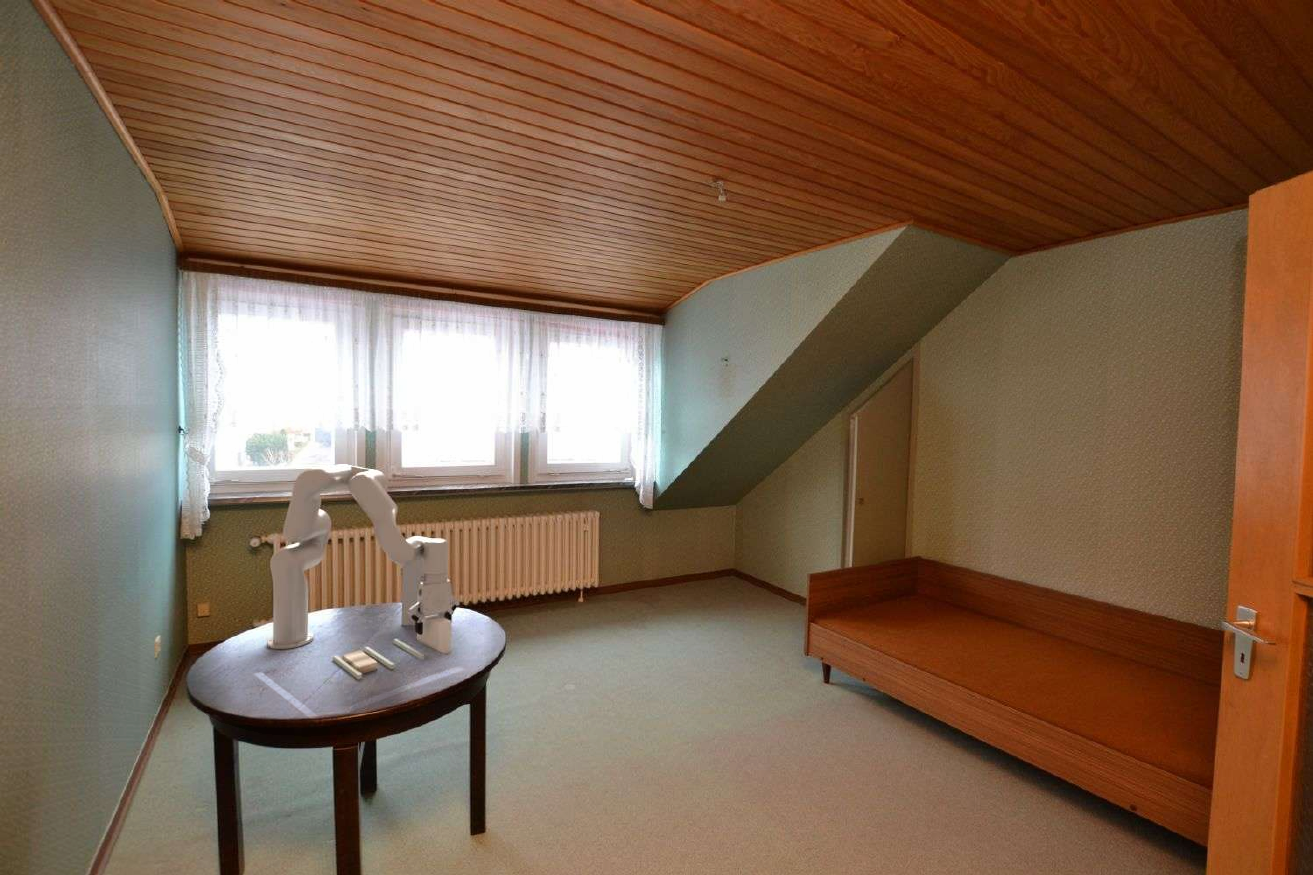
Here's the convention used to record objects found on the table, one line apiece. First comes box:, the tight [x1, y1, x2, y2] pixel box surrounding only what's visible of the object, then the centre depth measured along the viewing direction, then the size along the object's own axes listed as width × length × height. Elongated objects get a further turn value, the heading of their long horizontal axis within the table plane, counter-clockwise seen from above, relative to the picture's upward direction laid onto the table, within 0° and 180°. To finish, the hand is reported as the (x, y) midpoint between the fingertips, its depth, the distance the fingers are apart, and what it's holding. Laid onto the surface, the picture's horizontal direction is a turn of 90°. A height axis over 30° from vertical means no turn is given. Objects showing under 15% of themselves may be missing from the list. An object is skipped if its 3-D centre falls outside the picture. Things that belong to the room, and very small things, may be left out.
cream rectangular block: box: [416, 614, 452, 654], centre depth 184 cm, size 14×4×10 cm, turn 50°
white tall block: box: [400, 539, 449, 627], centre depth 204 cm, size 14×6×30 cm, turn 84°
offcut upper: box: [341, 649, 378, 675], centre depth 166 cm, size 12×5×2 cm, turn 49°
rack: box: [332, 638, 425, 680], centre depth 170 cm, size 18×19×2 cm
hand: (433, 629), depth 184 cm, fingers open, 9 cm apart
